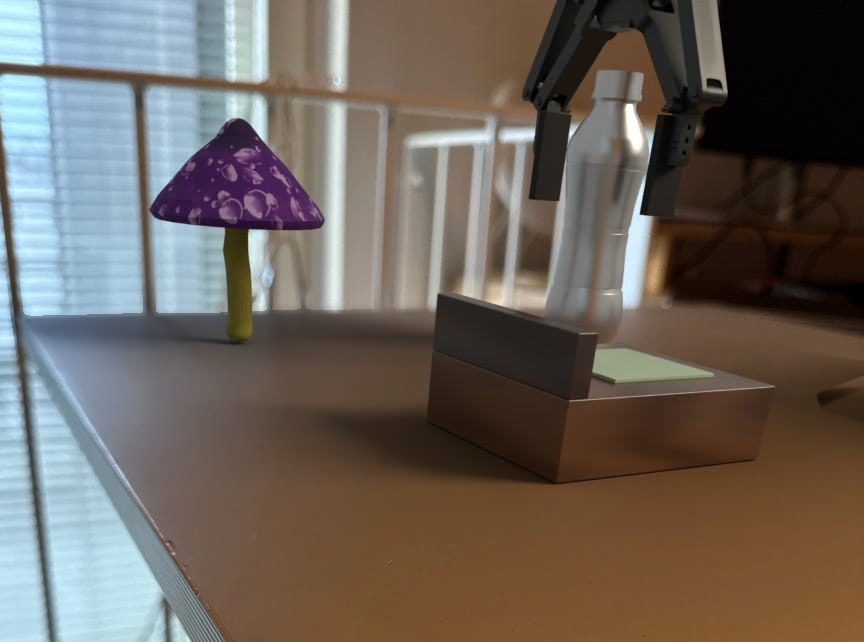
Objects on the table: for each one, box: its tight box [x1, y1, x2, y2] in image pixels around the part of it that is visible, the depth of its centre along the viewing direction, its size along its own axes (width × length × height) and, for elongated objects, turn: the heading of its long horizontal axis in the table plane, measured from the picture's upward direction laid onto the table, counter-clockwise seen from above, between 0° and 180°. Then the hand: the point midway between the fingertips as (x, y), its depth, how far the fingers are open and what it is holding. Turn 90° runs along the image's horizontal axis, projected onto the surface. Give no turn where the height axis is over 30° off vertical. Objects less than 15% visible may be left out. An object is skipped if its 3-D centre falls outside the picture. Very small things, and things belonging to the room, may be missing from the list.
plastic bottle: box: [543, 69, 650, 344], centre depth 76 cm, size 6×7×20 cm
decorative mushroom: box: [148, 117, 326, 344], centre depth 69 cm, size 12×12×15 cm
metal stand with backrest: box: [426, 292, 776, 484], centre depth 52 cm, size 14×12×7 cm
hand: (596, 208), depth 76 cm, fingers open, 13 cm apart
